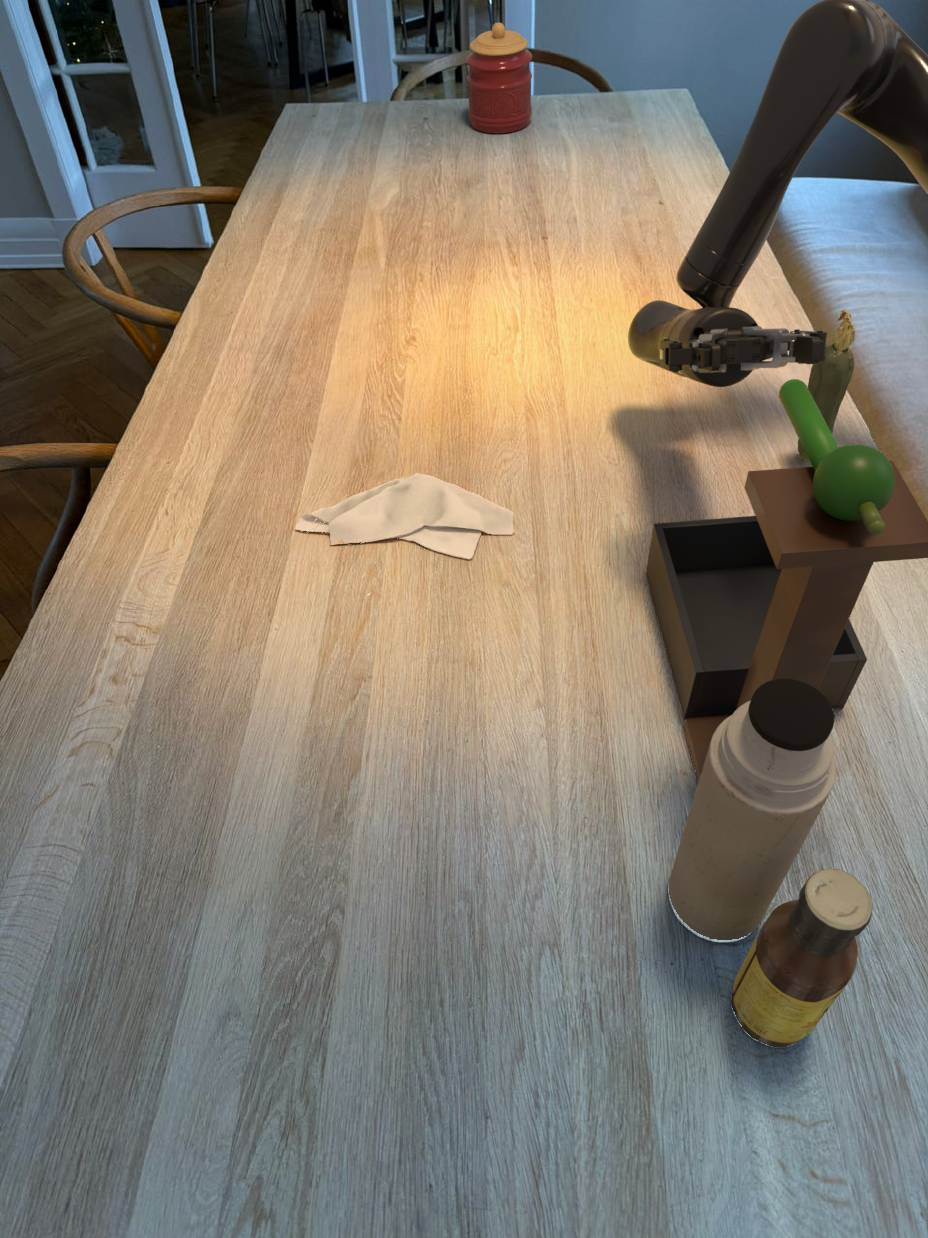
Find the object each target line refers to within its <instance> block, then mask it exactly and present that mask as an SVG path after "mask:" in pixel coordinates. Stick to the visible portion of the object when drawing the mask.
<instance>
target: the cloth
mask: <svg viewBox="0 0 928 1238" xmlns="http://www.w3.org/2000/svg"><path fill="white" fill-rule="evenodd" d="M514 513H515V512H514V511H512V510H510V509H508V508H506V507H504V506H501V505H499V504H497V503H495V502H492V501H491V500H488V499H486V498H485V497H482V496H481V495H479V494H477V493H475V492H472V491H469V490H467V489H465V488H463V487H461V486H458V485H457V484H454V483H452V482H451V483H449V482H447V481H445V480H442V479H440V478H438V477H436V476H432V475H430V474H424V473H419V472H415V473H414V474H411V476H409V477H396V478H394V479H391V480H389V481H387V482H384V483H382V484H380V485H377V486H375V487H372V488H369V489H367V490H365V491H362V492H359V493H355V494H354V495H351V496H349V497H347V498H345V499H344V500H342V501H339V502H338V503H336V504H334V505H333V506H328V507H327V506H326V507H322V508H319V509H317V510H314V511H312V512H305V513H303V514H302V515H300V516H299V518H298V520H297V522H296V525H295V527H294V529H295V531H297V530H300V531H299V532H303V531H307V532H306V533H309V532H308V531H312V532H313V531H321V532H322V533H321V534H329V542H330V541H331V542H333V543H334V541H336V540H337V539H338V540H339V541H341V539H342V540H343V541H344V542H345V543H346V542H347V541H348V542H349V543H350V542H354V541H355V542H358V543H359V542H361V543H360V544H365V542H366V543H372V542H378V541H383V540H388V539H394V538H397V539H396V540H404V541H407V542H414V543H416V544H417V545H419V544H420V546H421V545H422V546H421V547H423V546H424V547H423V548H425V547H426V548H425V549H428V550H431V551H433V552H436V553H440V554H443V555H447V556H451V557H454V558H458V559H464V560H469V561H470V560H472V559H473V558H474V555H475V553H476V549H477V546H478V544H479V541H480V538H481V536H482V534H483V533H484V534H487V535H489V534H491V535H490V536H513V535H514V534H515V531H514V529H515V527H514ZM316 518H317V520H316V521H315V519H316ZM314 521H315V522H314ZM313 522H314V524H313ZM320 522H321V523H320ZM324 522H325V523H324ZM318 523H320V524H319V526H318V527H317V528H316V526H317V524H318ZM323 523H324V524H323ZM312 524H313V525H312ZM312 528H313V529H312ZM315 528H316V529H315ZM314 529H315V530H314ZM323 532H325V533H323ZM513 533H514V534H513ZM398 538H399V539H398Z"/></svg>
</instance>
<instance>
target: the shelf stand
mask: <svg viewBox="0 0 928 1238" xmlns="http://www.w3.org/2000/svg"><path fill="white" fill-rule="evenodd" d="M889 461H890V463H891V465H892V467H893V469H894V473H895V488H894V491H893V494H892V497H891V498H890V500H889V502H888V503H887V504H886V506H885V507H884V508H883V509H882V510H880V511H879V514H880V516H881V517H882V519H883V521H884V523H885V529H884V531H883V532H882V533H880V534H878V535H874V534H871V533H870V532H869V531H868V530H867V528H866V526H865V524H864V522H863V520H857V521H846V520H841V519H837V518H835V517H833V516H831V515H829V514H828V513H826V512H825V511H824V510H823V509H822V508H821V507H820V506H819V504H818V502H817V501H816V498H815V496H814V492H813V478H814V474H815V471H814V469H813V466H812V465H811V466H800V467H788V468H787V467H786V468H774V469H773V468H772V469H762V470H749V471H748V472H747V476H746V479H745V482H744V483H745V484H744V490H745V493H746V495H747V498H748V500H749V502H750V505H751V508H752V510H753V513H754V516H756V518H757V520H758V523H759V525H760V528H761V531H762V533H763V536H764V538H765V541H766V543H767V546H768V548H769V551H770V553H771V556H772V558H773V561H774V563H775V566H776V568H777V569H782V570H781V573H780V576H779V579H778V582H777V585H776V588H775V591H774V595H773V598H772V601H771V604H770V607H769V610H768V613H767V616H766V619H765V622H764V625H763V628H762V631H761V634H760V637H759V640H758V643H757V646H756V649H755V652H754V656H753V659H752V662H751V665H750V668H749V671H748V674H747V677H746V680H745V683H744V686H743V689H742V692H741V695H740V698H739V701H738V704H737V707H736V710H737V709H738V708H739V707H740V706H741V705H743V704H745V703H746V702H748V701H751V698H752V695H753V694H754V692H755V691H756V689H757V688H759V687H760V686H761V685H762V684H764V683H766V682H768V681H771V680H775V679H794V680H798V681H802V682H805V683H807V684H809V685H811V686H813V687H814V688H816V689H817V690H818V688H819V685H820V683H821V681H822V679H823V676H824V674H825V672H826V669H827V667H828V665H829V663H830V660H831V658H832V656H833V654H834V651H835V649H836V647H837V644H838V642H839V640H840V638H841V635H842V633H843V631H844V628H845V626H846V624H847V622H848V619H849V620H850V618H851V615H852V613H853V610H854V608H855V606H856V603H857V601H858V599H859V597H860V594H861V592H862V589H863V587H864V585H865V583H866V581H867V578H868V576H869V573H870V571H871V569H872V566H873V565H874V563H881V562H893V561H894V562H895V561H907V560H918V559H919V560H921V559H928V519H927V517H926V516H925V514H924V513H923V511H922V509H921V507H920V505H919V503H918V502H917V500H916V498H915V497H914V495H913V493H912V492H911V490H910V489H909V486H908V485H907V483H906V481H905V480H904V478H903V476H902V474H901V472H900V471H899V469H898V467H897V466H896V464H895V462H894V461H893V460H889ZM736 710H735V711H736ZM729 716H731V715H724V716H711V717H698V718H686V720H684V724H683V729H684V733H685V737H686V741H688V742H687V745H689V746H688V749H689V748H690V750H689V753H690V752H691V753H690V756H692V757H691V761H692V760H693V761H692V765H693V764H694V765H693V768H694V767H695V769H694V771H695V770H696V773H695V775H696V774H697V776H696V780H697V779H698V780H697V783H698V782H699V779H700V776H701V773H702V770H703V766H704V763H705V759H706V756H707V752H708V749H709V746H710V742H711V739H712V736H713V734H714V732H715V731H716V729H717V728H718V726H719V725H720V724H721V723H722V722H723V721H724V720H725V719H726V718H728V717H729Z"/></svg>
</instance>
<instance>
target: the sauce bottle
mask: <svg viewBox="0 0 928 1238" xmlns="http://www.w3.org/2000/svg"><path fill="white" fill-rule="evenodd" d="M873 909H874V908H873V900H872V897H871V894H870V893H869V891H868V889H867V887H866V886H865V885H863V884H862V882H860V880H859V879H858V878H857V877H856V876H854V875H853V874H851V873H848V872H846V871H843V870H840V869H837V868H824V869H820V870H817V871H815V872H814V873H813V874H811V875H810V876H809V878H808V879H807V880H806V881H805V883H804V885H803V886H802V887H801V888H800V891H799V894H798V899H794V900H789V901H787V902H784V903H782V904H779V905H778V906H776V908H774V909H773V910H772V911H771V912H770V914H769V915H768V917H767V918H766V920H765V922H764V923H763V924H762V926H761V928H760V929H759V931H758V933H757V934H756V937H755V939H754V941H753V942H752V944H751V946H750V949H749V950H748V952H747V955H746V957H745V958H744V960H743V962H742V964H741V966H740V968H739V970H738V972H737V974H736V976H735V978H734V982H733V988H732V990H733V991H732V990H731V995H732V1000H731V999H730V1007H731V1006H732V1008H733V1011H734V1012H735V1015H736V1018H737V1020H738V1021H739V1023H740V1024H741V1025H742V1028H743V1029H744V1030H745V1031H746V1032H747V1033H748V1034H749V1035H750V1036H751V1037H752V1038H754V1039H756V1040H758V1041H759V1042H762V1043H764V1044H767V1045H769V1046H773V1047H780V1048H788V1047H787V1046H789V1047H791V1045H792V1044H794V1043H795V1044H796V1043H798V1042H799V1041H800V1042H801V1040H803V1039H805V1038H806V1037H807V1036H808V1035H810V1034H811V1033H812V1031H814V1029H815V1028H816V1026H817V1025H818V1023H819V1022H820V1021H821V1019H822V1018H823V1016H824V1015H825V1014H826V1013H827V1011H829V1009H830V1007H831V1006H832V1005H833V1003H834V1002H835V1001H836V1000H837V998H838V997H839V996H840V995H841V993H842V992H843V990H845V988H846V987H847V986H848V984H849V983H850V981H851V980H852V978H853V976H854V974H855V971H856V968H857V963H858V955H859V950H858V943H857V939H856V937H858V936H859V935H860V934H861V933H862V932H864V930H865V929H866V927H868V925H869V924H870V923H871V920H872V916H873ZM732 1008H731V1009H732ZM742 1028H741V1029H742ZM743 1029H742V1030H743ZM752 1038H751V1039H752ZM759 1042H758V1043H759ZM764 1044H763V1045H764ZM795 1044H794V1045H795ZM769 1046H768V1047H769ZM792 1046H793V1045H792Z"/></svg>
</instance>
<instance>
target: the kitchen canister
mask: <svg viewBox="0 0 928 1238" xmlns="http://www.w3.org/2000/svg"><path fill="white" fill-rule="evenodd" d="M528 44H529V42H528V40H527V39H526V38H525V37H523V36H522V35H521V34H520V33H519V32H517V31H514V30H511V29H510V30H509V29H506V27H505V25H504V24H503V23H502V22H495V23H494V24H493V25H492V28H491V30H487V31H483V32H482V33H479V34H478V35H477V37H476V38H474V39H473V40H472V41H471V42H470V43H469V48H470V50H471V52H470V53H468V55H467V56H466V57H465V58H466V59H465V62H466V64H467V65H468V69H469V70H468V75H466V76H467V77H466V81H467V89H468V90H467V91H468V110H467V111H468V119H469V124H470V126H471V127H472V128H473V129H474V130H476V131H479V132H483V133H486V134H508V133H513V132H517V131H519V130H522V129H524V128H525V127H527V126H528V125H529V124H530V123H531V118H532V113H533V111H532V110H533V107H532V79H533V74H532V71H531V69H530V62H531V61H532V59H533V54H532V53H531V52H530V50H529V49H527V47H528Z"/></svg>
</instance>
